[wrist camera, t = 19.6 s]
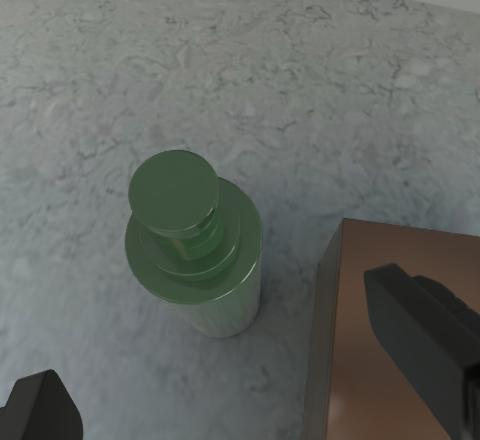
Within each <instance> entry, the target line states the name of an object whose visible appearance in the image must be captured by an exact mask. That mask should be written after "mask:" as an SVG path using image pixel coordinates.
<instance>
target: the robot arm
mask: <svg viewBox="0 0 480 440" xmlns="http://www.w3.org/2000/svg"><path fill="white" fill-rule="evenodd" d="M364 285H365V292H366V300H367V307H368V314H369V320H370V324H371V327H372V330H373V332H374V335H375V337H376V338H377V340H378V342H379V343H380V344H381V346H382V347H383V348H384V350H385V351H386V352H387V354H388V355H389V356H390V358H391V359H392V360H393V362H394V363H395V364H396V366H397V367H398V368H399V370H400V371H401V372H402V374H403V375H404V376H405V378H406V379H407V380H408V382H409V383H410V384H411V386H412V387H413V388H414V390H415V391H416V392H417V394H418V395H419V396H420V398H421V399H422V400H423V402H424V403H425V404H426V406H427V407H428V408H429V410H430V411H431V412H432V414H433V415H434V416H435V418H436V419H437V420H438V422H439V423H440V424H441V426H442V427H443V428H444V430H445V431H446V432H447V434H448V435H449V436H450V438H451V439H452V440H480V315H479V314H478V313H477V312H476V311H474V310H473V309H470V308H469V306H468V305H467V304H466V303H465V302H463V301H462V300H461V299H460V298H457V297H456V295H455V294H454V293H453V292H451V291H450V290H449V289H448V288H447V287H445V286H444V285H443V284H442V283H440V282H438V281H435V280H433V279H430V278H428V277H425V276H423V275H417V276H414V277H411V276H409V275H408V274H407V273H406V272H405V271H404V270H403V269H402V268H401V267H399V266H398V265H397V264H396V263H394V262H391V263H388V264H385V265H382V266H379V267H376V268H372V269H369V270H366V271H365V272H364ZM0 440H83V424H82V419H81V416H80V413H79V411H78V409H77V407H76V406H75V404H74V402H73V400H72V399H71V397H70V395H69V393H68V392H67V390H66V388H65V386H64V385H63V383H62V381H61V379H60V378H59V376H58V374H57V373H56V372H55V371H54V370H52V369H49V370H46V371H43V372H40V373H37V374H34V375H30V376H27V377H24V378H21V379H19V380H17V381H16V383H15V385H14V387H13V389H12V392H11V394H10V396H9V399H8V401H7V403H6V406H4V407H1V408H0Z"/></svg>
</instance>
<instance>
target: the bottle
mask: <svg viewBox="0 0 480 440" xmlns="http://www.w3.org/2000/svg"><path fill="white" fill-rule="evenodd" d="M128 197H129V203H130V207H131V209H132V211H133V213H132V215H131V217H130V219H129V222H128V225H127V229H126V234H125V251H126V256H127V260H128V263H129V266H130V268H131V270H132V272H133V274H134V276H135V277H136V278H137V280H138V281H139V282H140V283H141V284H142V285H143V286H144V287H145V288H146V289H147V290H148V291H149V292H150V293H152V294H153V295H154V296H155V297H157V298H158V299H159V300H160V301H161V302H163V303H164V304H165V305H166V306H168V307H169V308H170V309H171V310H172V311H174V312H175V313H176V314H177V315H179V316H180V317H181V318H182V319H184V320H185V321H186V322H187V323H188V324H190V325H191V326H192V327H193V328H195V329H196V330H197V331H198V332H200V333H202V334H204V335H206V336H209V337H213V338H227V337H231V336H234V335H236V334H239V333H240V332H242V331H243V330H245V329H246V328H247V327H248V326H249V325H250V324H251V323H252V321H253V320H254V318H255V316H256V314H257V312H258V309H259V304H260V287H261V264H262V242H263V233H262V224H261V220H260V217H259V214H258V211H257V209H256V207H255V205H254V204H253V202H252V201H251V199H250V198H249V197H248V196H247V195H246V194H245V193H244V192H243V191H242V190H241V189H240V188H239V187H237V186H236V185H234V184H233V183H231V182H229V181H227V180H225V179H223V178H220V177H217V175H216V173H215V171H214V169H213V168H212V166H211V165H210V164H209V163H208V162H207V161H206V160H205V159H204V158H202V157H201V156H199V155H197V154H195V153H192V152H189V151H184V150H170V151H164V152H161V153H158V154H156V155H154V156H152V157H150V158H149V159H147V160H146V161H145V162H144V163H142V164H141V165H140V167H139V168H138V169H137V170H136V172H135V173H134V175H133V177H132V179H131V182H130V186H129V193H128Z"/></svg>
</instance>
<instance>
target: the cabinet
mask: <svg viewBox="0 0 480 440" xmlns="http://www.w3.org/2000/svg"><path fill="white" fill-rule="evenodd" d="M391 262H394V263H396V264H397V265H398V266H399V267H401V268H402V269H403V270H404V271H405V272H406V273H407V274H408V275H409V276H411V277H414V276H417V275H423V276H425V277H428V278H430V279H433V280H435V281H438V282H440V283H442V284H443V285H444V286H445V287H447V288H448V289H449V290H450V291H451V292H453V293H454V294H455V295H456V297H457V298H460V299H461V300H462V301H463V302H465V303H466V304H467V305H468V306H469V308H470V309H473V310H474V311H476V312H477V313H478V314H479V315H480V237H479V236H471V235H464V234H457V233H450V232H442V231H435V230H428V229H421V228H413V227H406V226H399V225H392V224H384V223H377V222H370V221H362V220H355V219H348V218H343V220H342V222H341V224H340V225H339V227H338V229H337V231H336V232H335V234H334V236H333V238H332V240H331V242H330V243H329V245H328V247H327V249H326V251H325V253H324V255H323V256H322V258H321V260H320V262H319V265H318V275H317V285H316V295H315V305H314V314H313V324H312V334H311V344H310V354H309V364H308V374H307V384H306V394H305V403H304V413H303V423H302V433H301V440H452V439H451V438H450V436H449V435H448V434H447V432H446V431H445V430H444V428H443V427H442V426H441V424H440V423H439V422H438V420H437V419H436V418H435V416H434V415H433V414H432V412H431V411H430V410H429V408H428V407H427V406H426V404H425V403H424V402H423V400H422V399H421V398H420V396H419V395H418V394H417V392H416V391H415V390H414V388H413V387H412V386H411V384H410V383H409V382H408V380H407V379H406V378H405V376H404V375H403V374H402V372H401V371H400V370H399V368H398V367H397V366H396V364H395V363H394V362H393V360H392V359H391V358H390V356H389V355H388V354H387V352H386V351H385V350H384V348H383V347H382V346H381V344H380V343H379V342H378V340H377V338H376V337H375V335H374V332H373V330H372V327H371V324H370V320H369V314H368V307H367V300H366V292H365V285H364V272H365V271H366V270H369V269H372V268H376V267H379V266H382V265H385V264H388V263H391Z"/></svg>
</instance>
